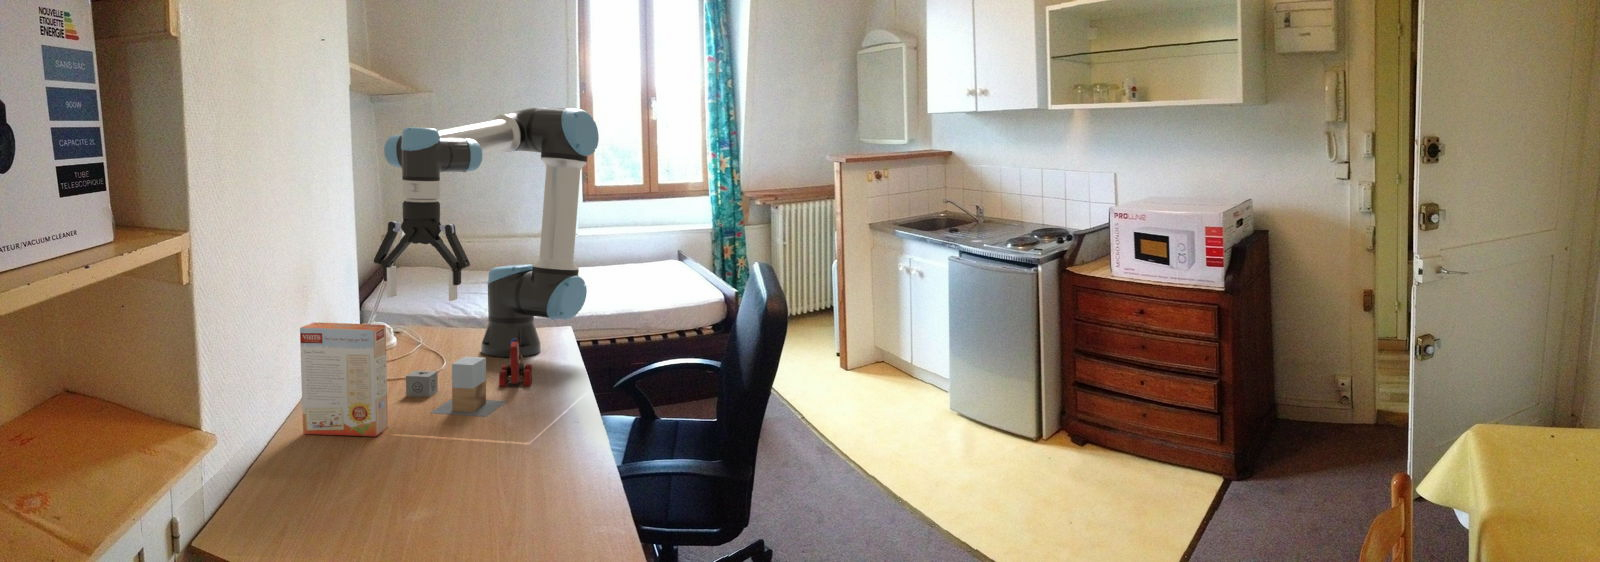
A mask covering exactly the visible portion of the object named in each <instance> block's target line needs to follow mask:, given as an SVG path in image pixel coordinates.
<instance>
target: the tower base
mask: <svg viewBox="0 0 1600 562" xmlns="http://www.w3.org/2000/svg"><path fill="white" fill-rule="evenodd" d="M451 399H452V411H464V412H474V411H475V410H477V409H478V408H480V407H481V406H483V405H484V404H486V400H487V380H486V381H484V382H483V383H481V384H480V385H478V386H476V387H475V388H473V389H470V388H454V387H452V386H451Z"/></svg>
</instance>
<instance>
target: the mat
mask: <svg viewBox="0 0 1600 562" xmlns="http://www.w3.org/2000/svg"><path fill="white" fill-rule="evenodd" d="M506 403H508V400H496V399H495V400H494V399H493V400H492V399H486V404H484V405H483V406H481V407H480V408H478V409H477V410H475V411H474V412H464V411H452V398H451V399H449V400H448V401H446V402H445V403H443V404H441V405H440V406H438V407H436V408H434V409H433V410H432V411H430V412H429V414H435V415H436V414H437V415H452V416H465V417H466V416H470V417H483V418H486V417H488V416H489V415H491V414H492V413H493V412H495V411H496V410H498V409H499V408H500V407H502V406H503V405H505V404H506Z"/></svg>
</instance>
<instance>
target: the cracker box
mask: <svg viewBox="0 0 1600 562" xmlns="http://www.w3.org/2000/svg"><path fill="white" fill-rule="evenodd" d="M386 327H387V326H386V325H385V324H372V323H371V324H367V323H345V322H340V323H339V322H311V323H309V324H306V325H304V326H301V327H299V334H300V335H299V340H300V343H299V345H300V373H301V376H300V377H301V379H300V380H301V405H302V406H301V407H302V408H301V410H302V433H303V434H304V435H322V436H323V435H325V436H349V437H350V436H352V437H354V436H355V437H372V438H373V437H374V438H375V437H377V436H379V435H380V434H382V432H384V431H385V430H387V429H388V428H389V425H388V423H389V422H388V420H389V419H388V418H389V417H388V416H389V415H388V376H387V374H388V371H387V368H388V365H387V333H386V332H387V331H386V330H387V329H386Z"/></svg>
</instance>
